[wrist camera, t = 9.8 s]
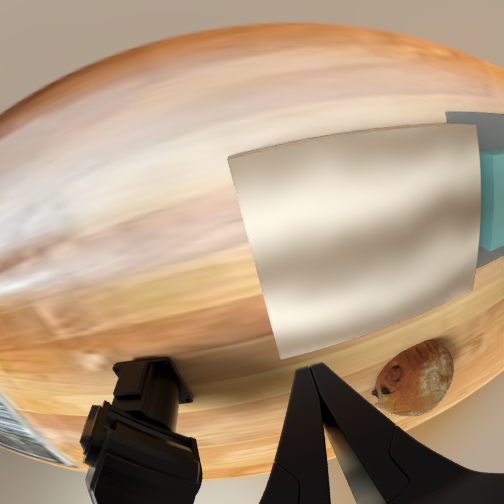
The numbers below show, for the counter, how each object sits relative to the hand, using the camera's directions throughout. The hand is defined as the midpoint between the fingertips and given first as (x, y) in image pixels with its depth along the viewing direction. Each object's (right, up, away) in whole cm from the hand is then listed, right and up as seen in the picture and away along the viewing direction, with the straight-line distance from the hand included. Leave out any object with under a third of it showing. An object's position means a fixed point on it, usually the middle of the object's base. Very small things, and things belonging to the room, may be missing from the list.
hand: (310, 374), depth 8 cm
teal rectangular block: (+22, +9, +9) cm, 26 cm away
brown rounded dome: (+17, -11, +20) cm, 28 cm away
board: (+7, +6, +12) cm, 15 cm away
